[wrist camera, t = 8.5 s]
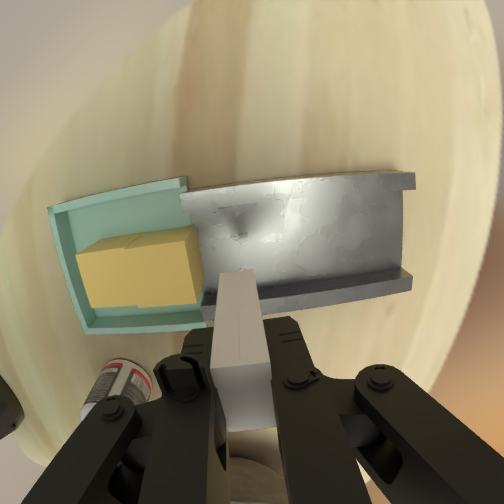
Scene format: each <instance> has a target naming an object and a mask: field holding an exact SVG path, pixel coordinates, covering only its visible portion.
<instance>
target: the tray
mask: <svg viewBox="0 0 504 504" xmlns="http://www.w3.org/2000/svg"><path fill="white" fill-rule="evenodd" d="M186 190H188V185H187V178H186V176H183V177H178V178H172V179H166V180H161V181H155V182H150V183H145V184H140V185H135V186H130V187H126V188H121V189H117V190H112V191H108V192H103V193H99V194H95V195H91V196H87V197H83V198H79V199H75V200H71V201H67V202H64V203H60V204H57V205H54V206H51V207H48V208H47V210H48V215H49V220H50V224H51V229H52V233H53V237H54V241H55V245H56V249H57V253H58V257H59V261H60V264H61V268H62V271H63V274H64V278H65V281H66V284H67V287H68V290H69V293H70V296H71V299H72V302H73V305H74V308H75V310H76V313H77V316H78V318H79V321H80V324H81V326H82V329H83V331H84V334H134V333H156V332H173V331H187V330H192V329H197V328H207V326H208V321H203V316H202V312H201V307H200V306H201V302H202V299H203V295H204V293H203V288H202V289H201V292H200V295H199V298H198V302H197V303H194V304H183V305H171V306H159V307H146V308H138V305H135V306H120V307H104V308H91V305H90V302H89V299H88V296H87V293H86V290H85V287H84V284H83V281H82V277H81V274H80V270H79V267H78V263H77V260H76V256H75V255H76V254H77V253H79V252H80V251H82V250H83V249H85V248H87V247H88V246H90V245H91V244H93V243H95V242H96V241H98V240H99V239H103V238H109V237H115V236H121V235H128V234H134V233H140V232H145V233H149V232H156V231H162V230H169V229H176V228H183V227H190V226H191V222H190V216H189V212H185V213H182V207H181V201H180V194H181V193H183V192H184V191H186Z"/></svg>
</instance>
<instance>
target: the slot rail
mask: <svg viewBox="0 0 504 504" xmlns="http://www.w3.org/2000/svg"><path fill="white" fill-rule="evenodd" d="M402 190H416V182H415V173H414V172H406V171H397V170H387V171H362V172H344V173H329V174H315V175H303V176H292V177H282V178H272V179H263V180H254V181H246V182H238V183H230V184H222V185H215V186H208V187H202V188H195V189H189V190H186V191H184V192H183V193H181V194H180V201H181V207H182V213H185V212H189V216H190V222H191V226H196V231H197V237H198V243H199V249H200V254H201V260H202V266H203V271H204V276H205V280H204V283H203V286H202V288H203V293H204V295H203V299H202V302H201V306H200V307H201V312H202V316H203V321H209V320H215V312H216V303H217V294H218V285H219V276H220V273H226V272H234V271H242V270H249V269H253V271H254V276H255V282H256V287H257V293H258V298H259V303H260V309H261V314H262V315H265V314H273V313H281V312H288V311H296V310H303V309H309V308H316V307H323V306H329V305H335V304H341V303H347V302H353V301H359V300H364V299H370V298H375V297H380V296H386V295H391V294H396V293H401V292H406V291H410V290H411V289H412V280H413V276H412V275H411V274H409V273H408V272H407V271H405V270H404V269H403V268H401V260H402V236H403V195H402Z"/></svg>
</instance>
